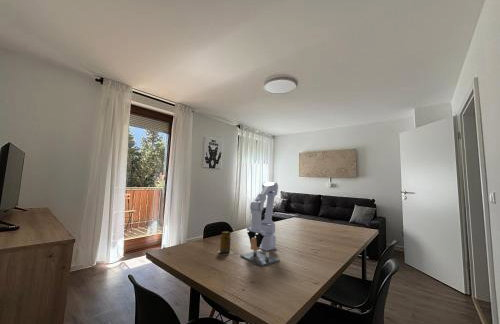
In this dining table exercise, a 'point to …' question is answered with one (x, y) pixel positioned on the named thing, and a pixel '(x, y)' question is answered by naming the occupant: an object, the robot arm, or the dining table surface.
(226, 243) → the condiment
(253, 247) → the knob
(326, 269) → the dining table surface
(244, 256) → the hub plate
